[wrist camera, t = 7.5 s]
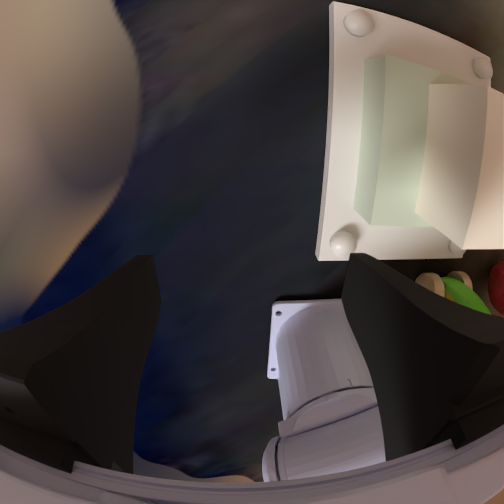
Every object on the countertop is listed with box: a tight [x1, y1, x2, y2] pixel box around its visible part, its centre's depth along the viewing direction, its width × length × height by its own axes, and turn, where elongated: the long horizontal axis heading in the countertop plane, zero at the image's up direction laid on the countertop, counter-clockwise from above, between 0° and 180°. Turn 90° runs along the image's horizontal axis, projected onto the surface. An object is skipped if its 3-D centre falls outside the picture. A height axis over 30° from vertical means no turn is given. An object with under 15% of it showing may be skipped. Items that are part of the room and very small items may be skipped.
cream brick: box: [415, 84, 504, 249], centre depth 12 cm, size 8×4×5 cm, turn 179°
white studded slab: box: [315, 1, 493, 261], centre depth 16 cm, size 18×14×4 cm
